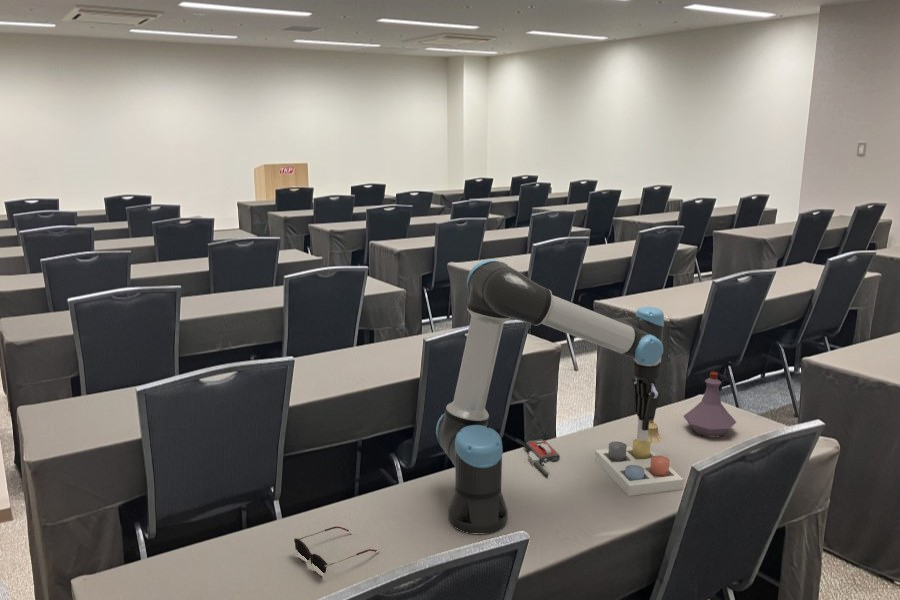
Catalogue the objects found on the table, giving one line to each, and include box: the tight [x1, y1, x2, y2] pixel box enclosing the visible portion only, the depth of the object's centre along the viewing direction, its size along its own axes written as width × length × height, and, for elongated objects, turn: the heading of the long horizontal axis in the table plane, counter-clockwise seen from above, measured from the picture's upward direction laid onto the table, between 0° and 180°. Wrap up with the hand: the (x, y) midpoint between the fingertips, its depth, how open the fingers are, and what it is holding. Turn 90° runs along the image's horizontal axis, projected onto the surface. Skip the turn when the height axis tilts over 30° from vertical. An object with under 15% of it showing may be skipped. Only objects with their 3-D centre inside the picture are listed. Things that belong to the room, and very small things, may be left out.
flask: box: [683, 371, 737, 437], centre depth 243 cm, size 16×16×20 cm
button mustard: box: [632, 438, 651, 459], centre depth 220 cm, size 5×5×4 cm
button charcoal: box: [608, 441, 628, 462], centre depth 218 cm, size 5×5×4 cm
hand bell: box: [647, 420, 662, 444], centre depth 237 cm, size 8×8×16 cm
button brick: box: [650, 454, 671, 477], centre depth 210 cm, size 5×5×4 cm
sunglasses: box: [293, 526, 378, 574], centre depth 178 cm, size 14×16×5 cm
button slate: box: [625, 465, 644, 481], centre depth 208 cm, size 5×5×4 cm
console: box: [594, 445, 684, 497], centre depth 215 cm, size 16×22×4 cm
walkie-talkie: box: [523, 438, 561, 477], centre depth 225 cm, size 9×4×20 cm
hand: (642, 438), depth 219 cm, fingers closed
